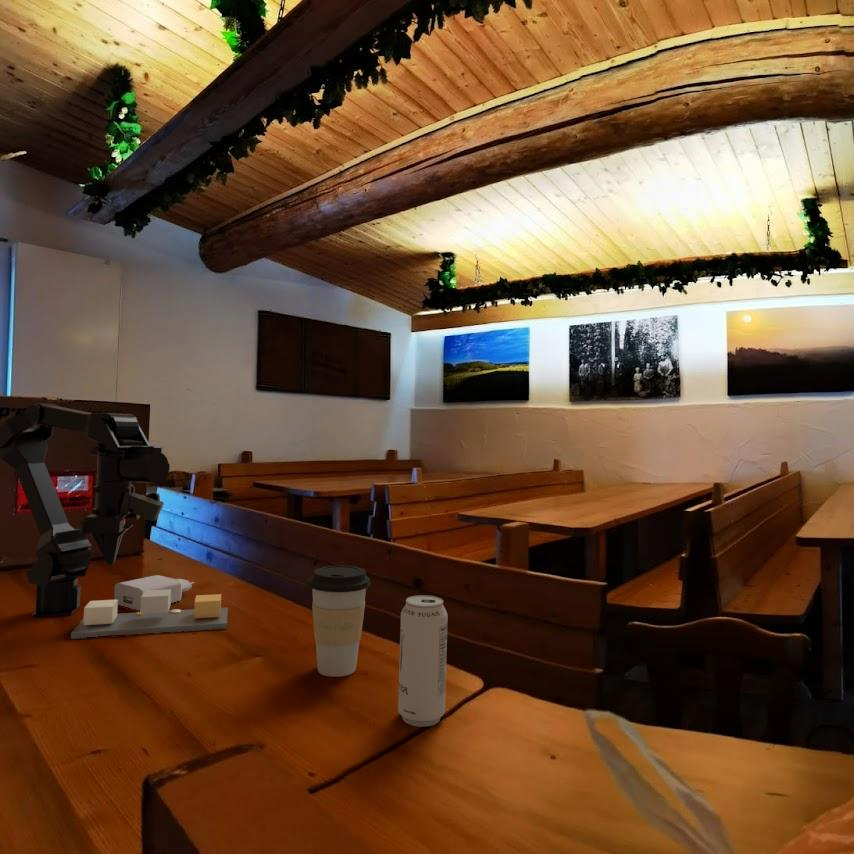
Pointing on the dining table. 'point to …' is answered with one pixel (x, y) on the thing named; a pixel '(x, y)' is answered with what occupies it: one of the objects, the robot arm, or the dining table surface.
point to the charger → (134, 589)
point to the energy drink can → (422, 660)
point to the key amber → (207, 606)
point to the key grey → (155, 601)
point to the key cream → (100, 612)
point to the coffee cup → (338, 617)
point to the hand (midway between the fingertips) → (110, 564)
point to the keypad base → (152, 623)
